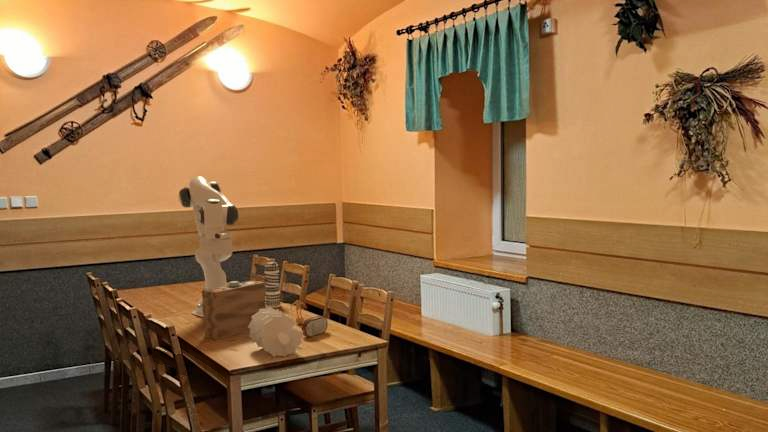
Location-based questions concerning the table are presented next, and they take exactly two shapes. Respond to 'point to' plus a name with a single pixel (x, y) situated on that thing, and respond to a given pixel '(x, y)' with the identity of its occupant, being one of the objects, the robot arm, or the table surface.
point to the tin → (314, 326)
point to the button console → (231, 309)
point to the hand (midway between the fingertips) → (216, 263)
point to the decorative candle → (272, 285)
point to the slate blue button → (233, 284)
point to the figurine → (299, 318)
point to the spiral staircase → (275, 332)
